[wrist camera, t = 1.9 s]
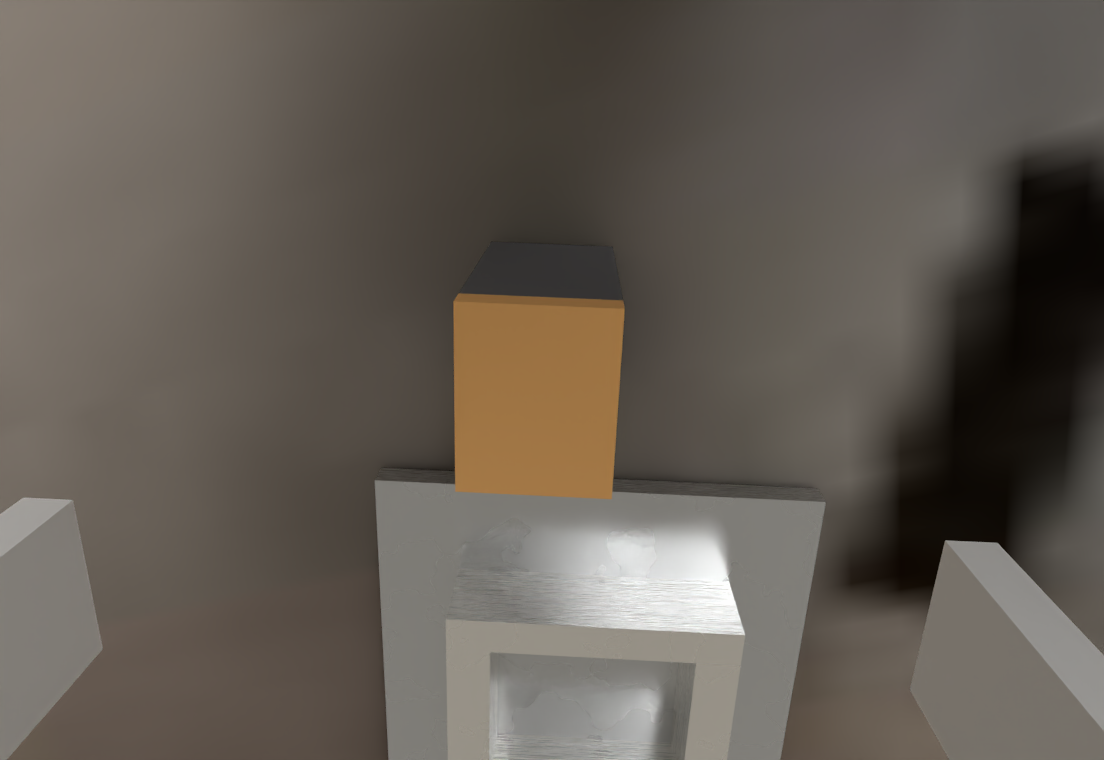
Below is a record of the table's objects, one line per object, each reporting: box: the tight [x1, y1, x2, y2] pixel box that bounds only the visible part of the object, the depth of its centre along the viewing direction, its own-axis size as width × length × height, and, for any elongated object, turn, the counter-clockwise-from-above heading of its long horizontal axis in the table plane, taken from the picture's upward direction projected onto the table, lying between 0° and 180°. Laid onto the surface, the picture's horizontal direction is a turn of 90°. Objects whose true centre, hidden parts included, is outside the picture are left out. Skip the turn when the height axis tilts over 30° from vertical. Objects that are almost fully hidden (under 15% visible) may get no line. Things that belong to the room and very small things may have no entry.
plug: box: [453, 242, 625, 499], centre depth 23 cm, size 5×4×8 cm
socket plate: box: [375, 468, 826, 760], centre depth 30 cm, size 20×16×4 cm
